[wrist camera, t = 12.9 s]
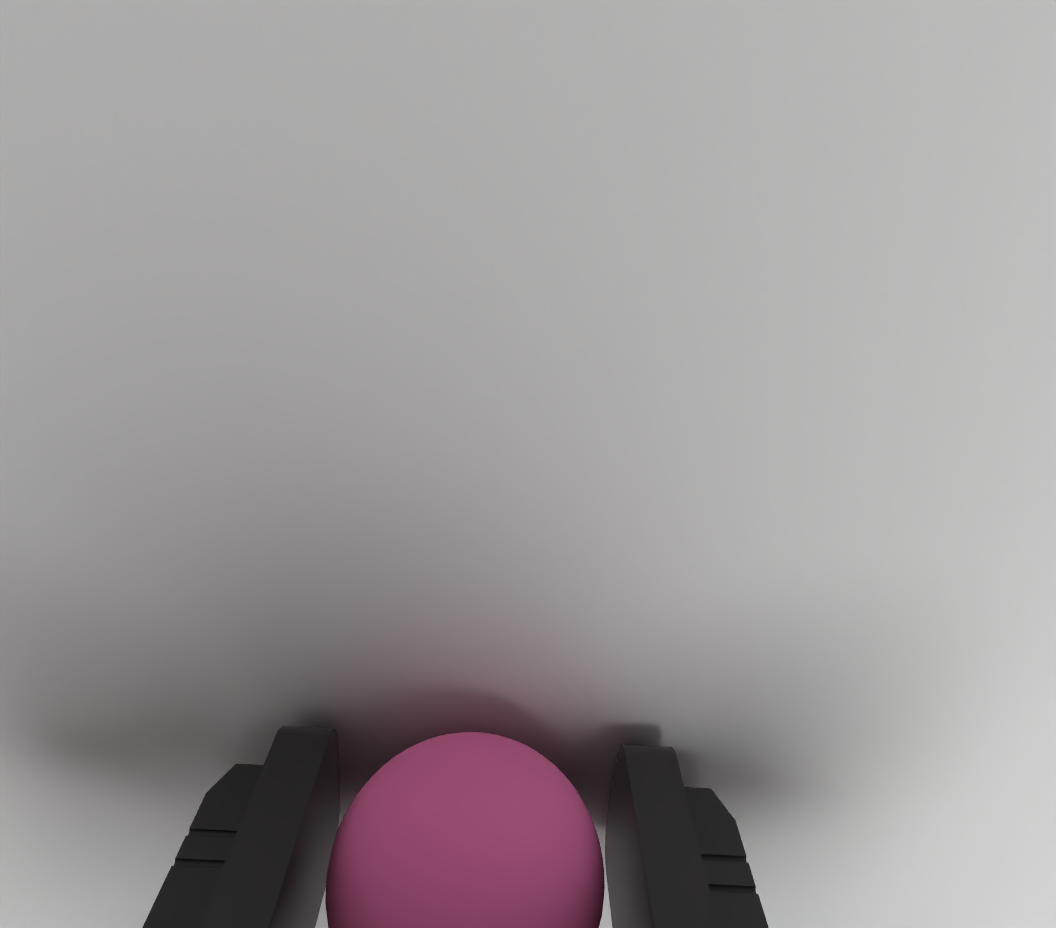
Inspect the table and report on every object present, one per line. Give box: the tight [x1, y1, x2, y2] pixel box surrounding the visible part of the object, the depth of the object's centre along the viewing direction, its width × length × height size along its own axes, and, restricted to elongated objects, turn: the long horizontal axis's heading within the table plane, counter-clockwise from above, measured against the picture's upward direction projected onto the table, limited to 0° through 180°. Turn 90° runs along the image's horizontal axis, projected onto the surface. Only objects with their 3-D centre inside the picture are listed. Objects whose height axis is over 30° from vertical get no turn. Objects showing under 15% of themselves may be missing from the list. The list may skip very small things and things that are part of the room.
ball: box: [326, 732, 604, 928], centre depth 10 cm, size 3×3×3 cm
